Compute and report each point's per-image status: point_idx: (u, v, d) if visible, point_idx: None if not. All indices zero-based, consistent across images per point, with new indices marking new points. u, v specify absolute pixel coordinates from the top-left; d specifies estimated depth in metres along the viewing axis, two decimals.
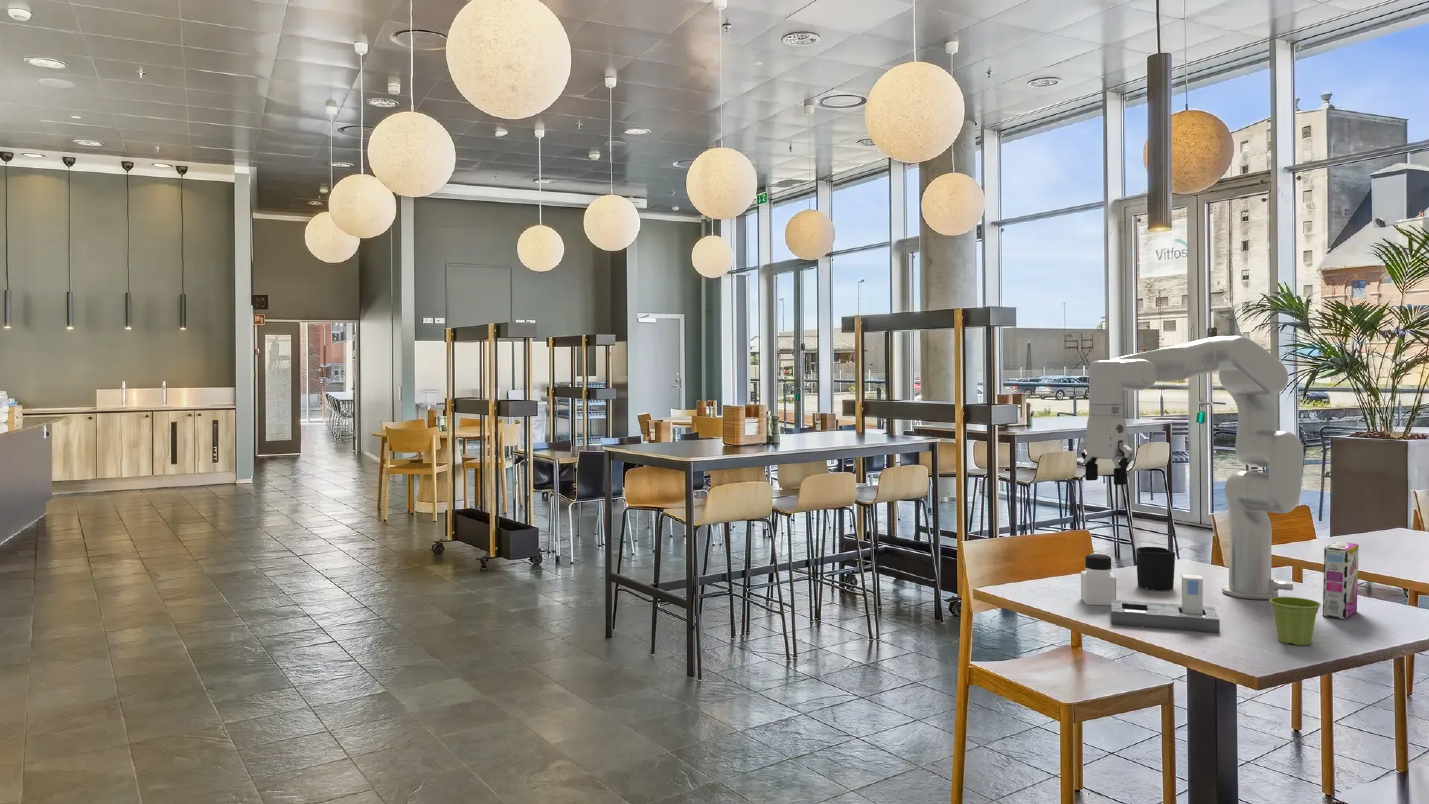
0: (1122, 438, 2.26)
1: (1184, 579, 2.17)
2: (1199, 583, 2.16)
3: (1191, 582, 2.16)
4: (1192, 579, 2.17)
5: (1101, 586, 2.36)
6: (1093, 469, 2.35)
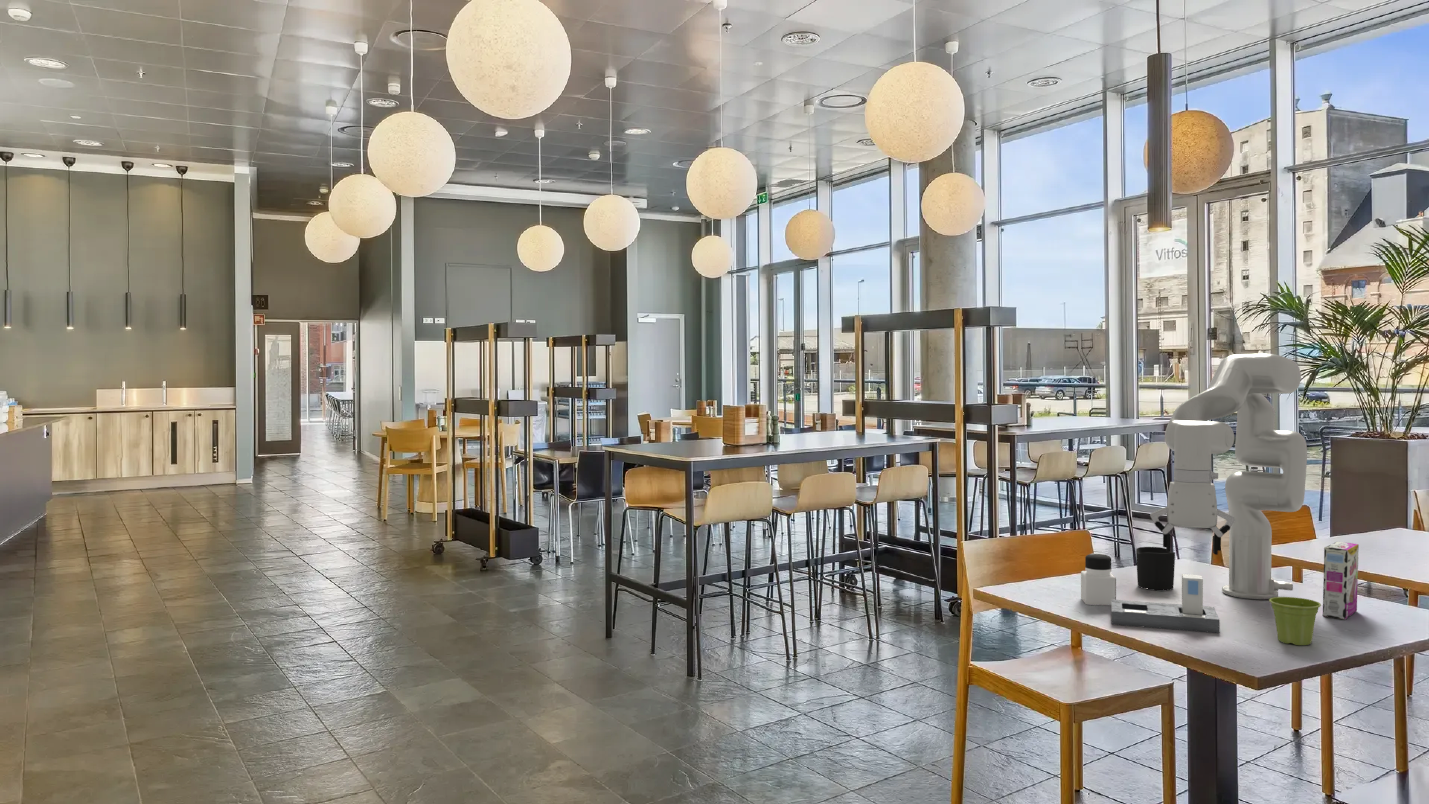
0: None
1: (1184, 579, 2.17)
2: (1199, 583, 2.16)
3: (1191, 582, 2.16)
4: (1192, 579, 2.17)
5: (1101, 586, 2.36)
6: None
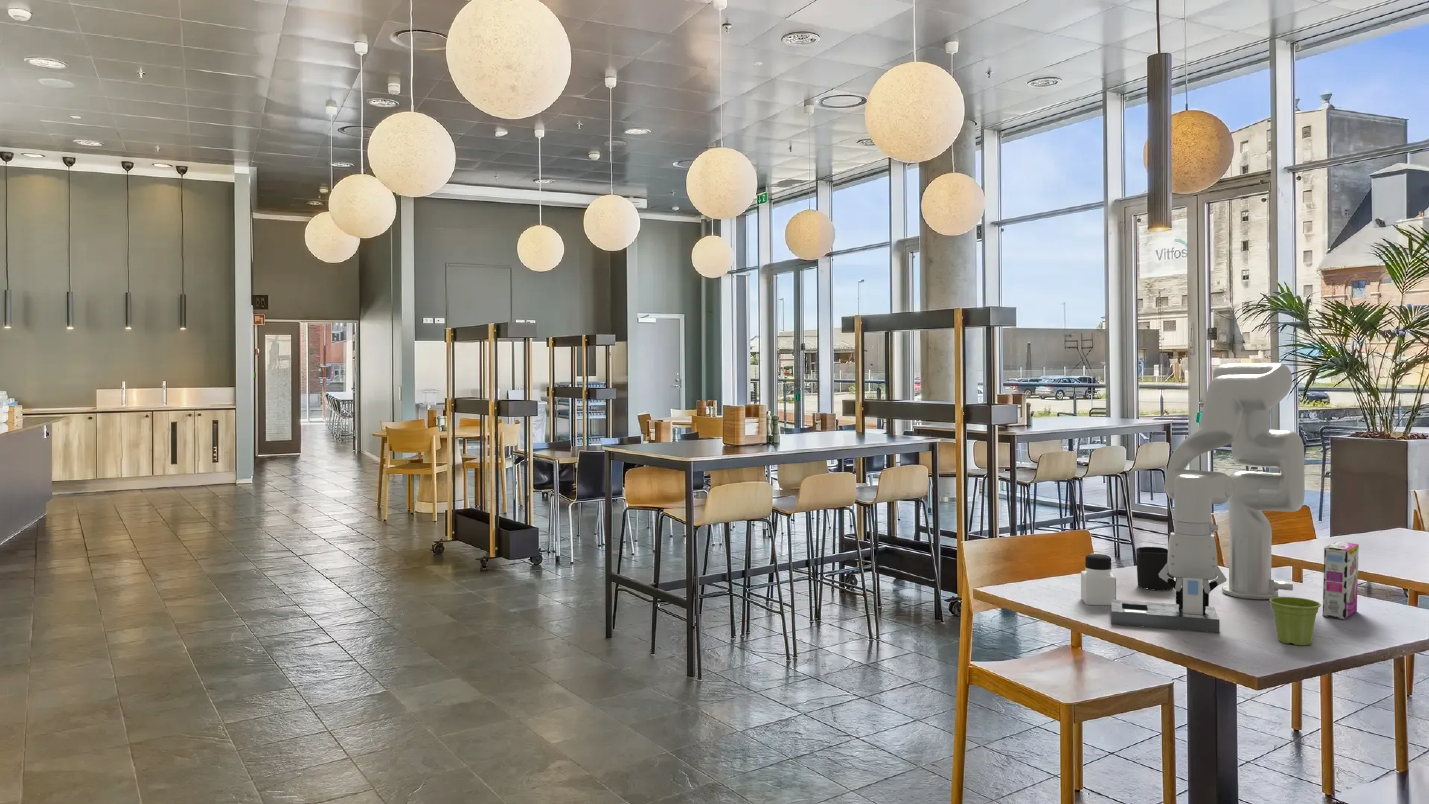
0: None
1: (1184, 579, 2.17)
2: (1199, 583, 2.16)
3: (1191, 582, 2.16)
4: (1192, 579, 2.16)
5: (1101, 586, 2.36)
6: None
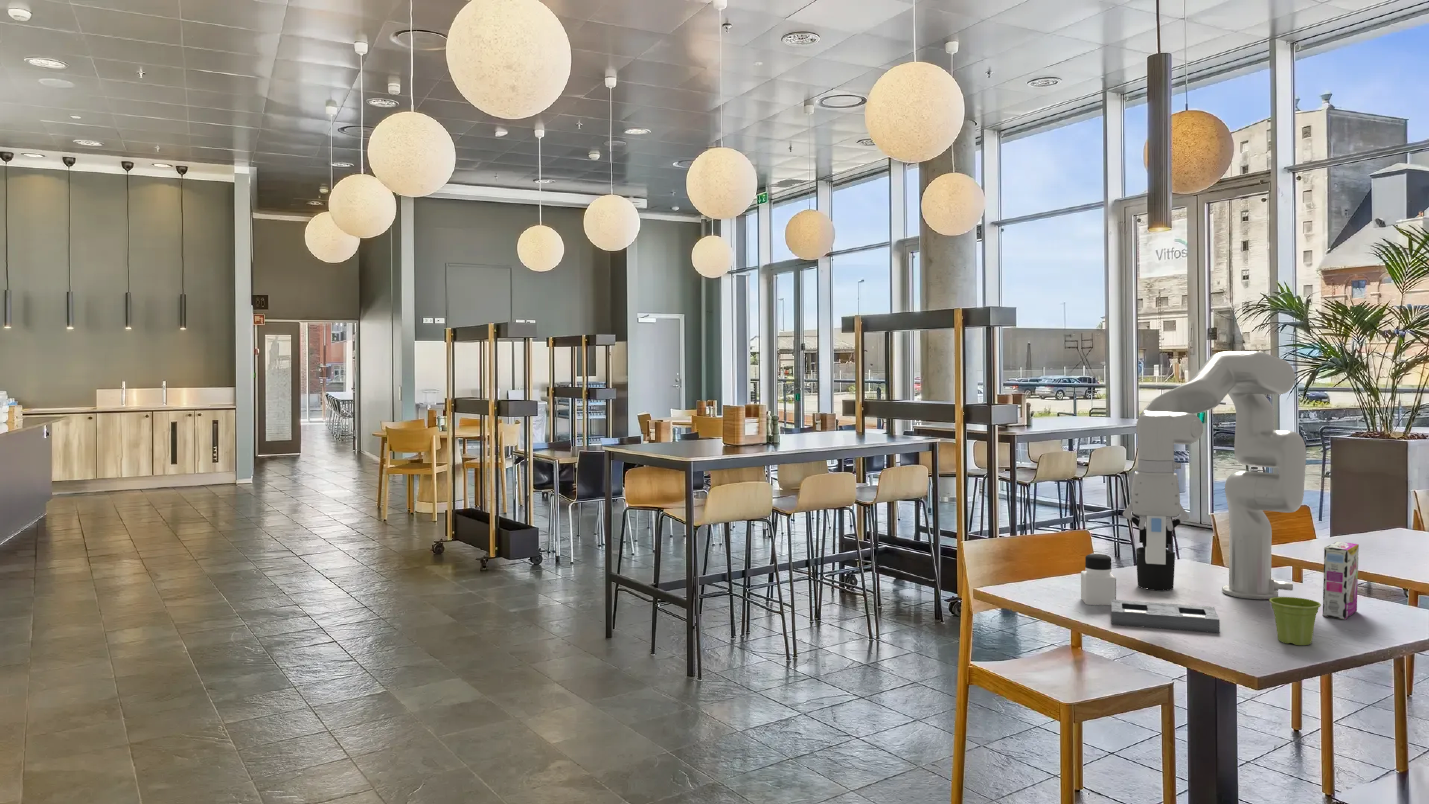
0: None
1: (1148, 517, 2.19)
2: (1162, 521, 2.18)
3: (1154, 520, 2.18)
4: (1155, 517, 2.19)
5: (1101, 586, 2.36)
6: None
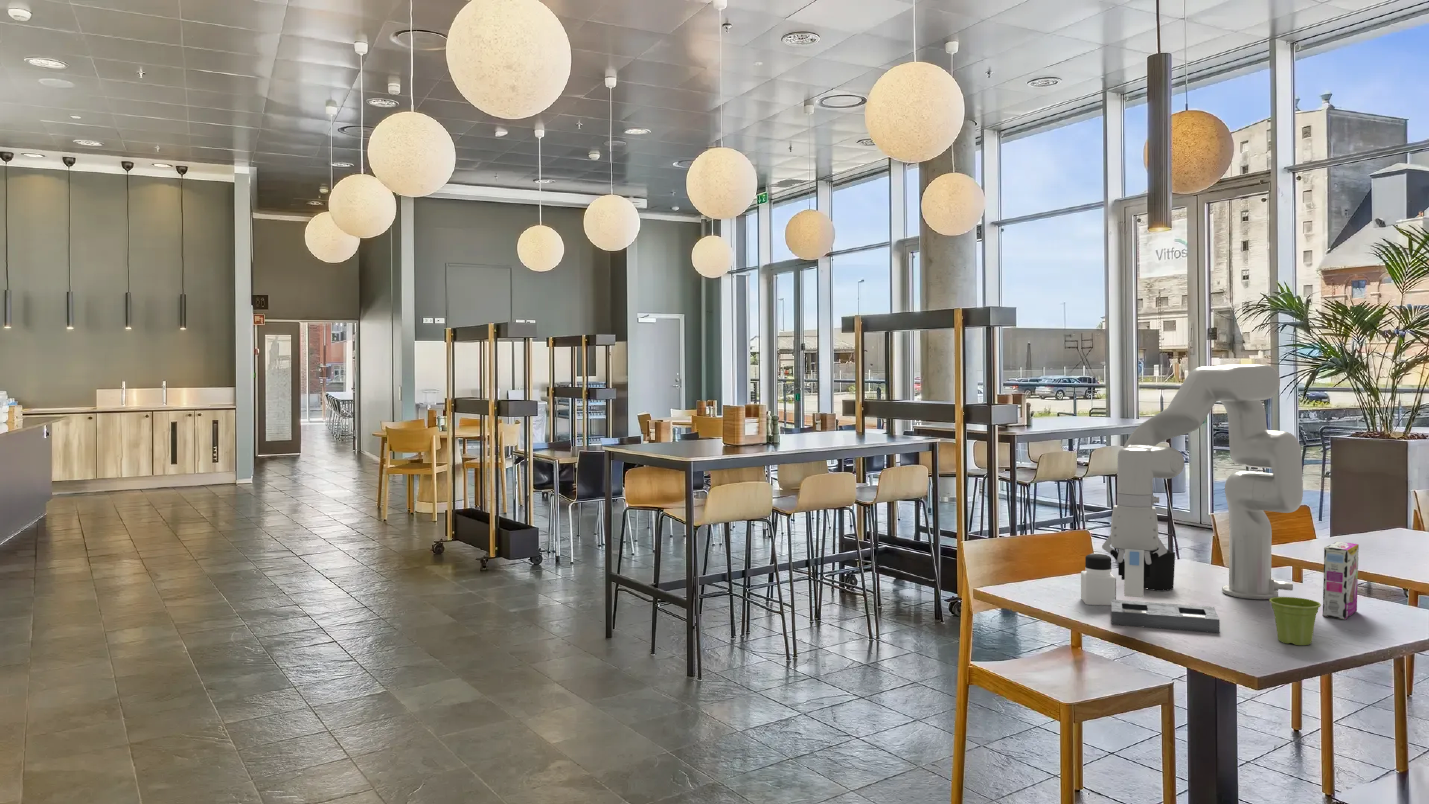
0: None
1: (1126, 550, 2.21)
2: (1140, 554, 2.20)
3: (1132, 553, 2.20)
4: (1133, 550, 2.21)
5: (1101, 586, 2.36)
6: None
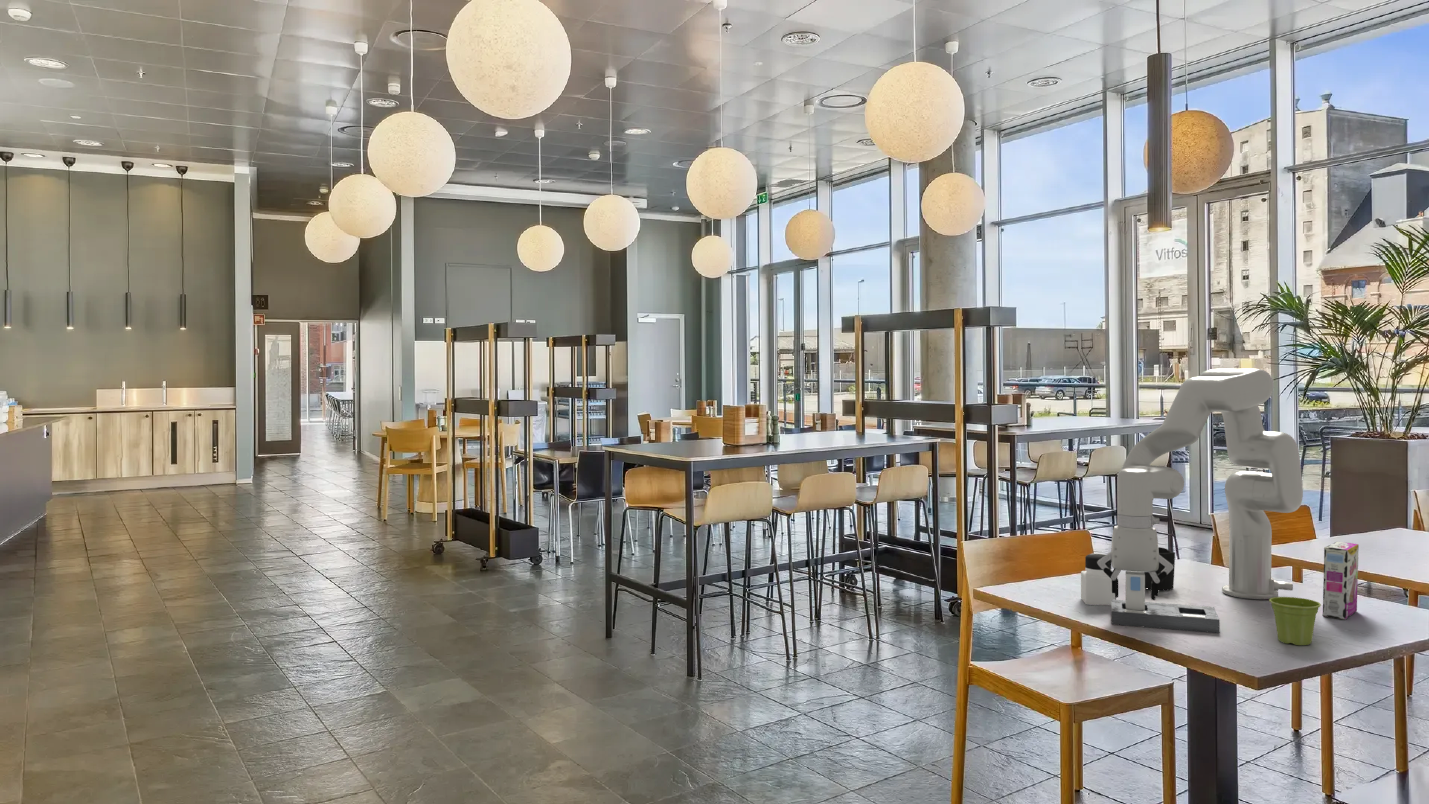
0: None
1: (1127, 575, 2.22)
2: (1141, 579, 2.21)
3: (1133, 578, 2.21)
4: (1134, 575, 2.21)
5: (1101, 586, 2.36)
6: None
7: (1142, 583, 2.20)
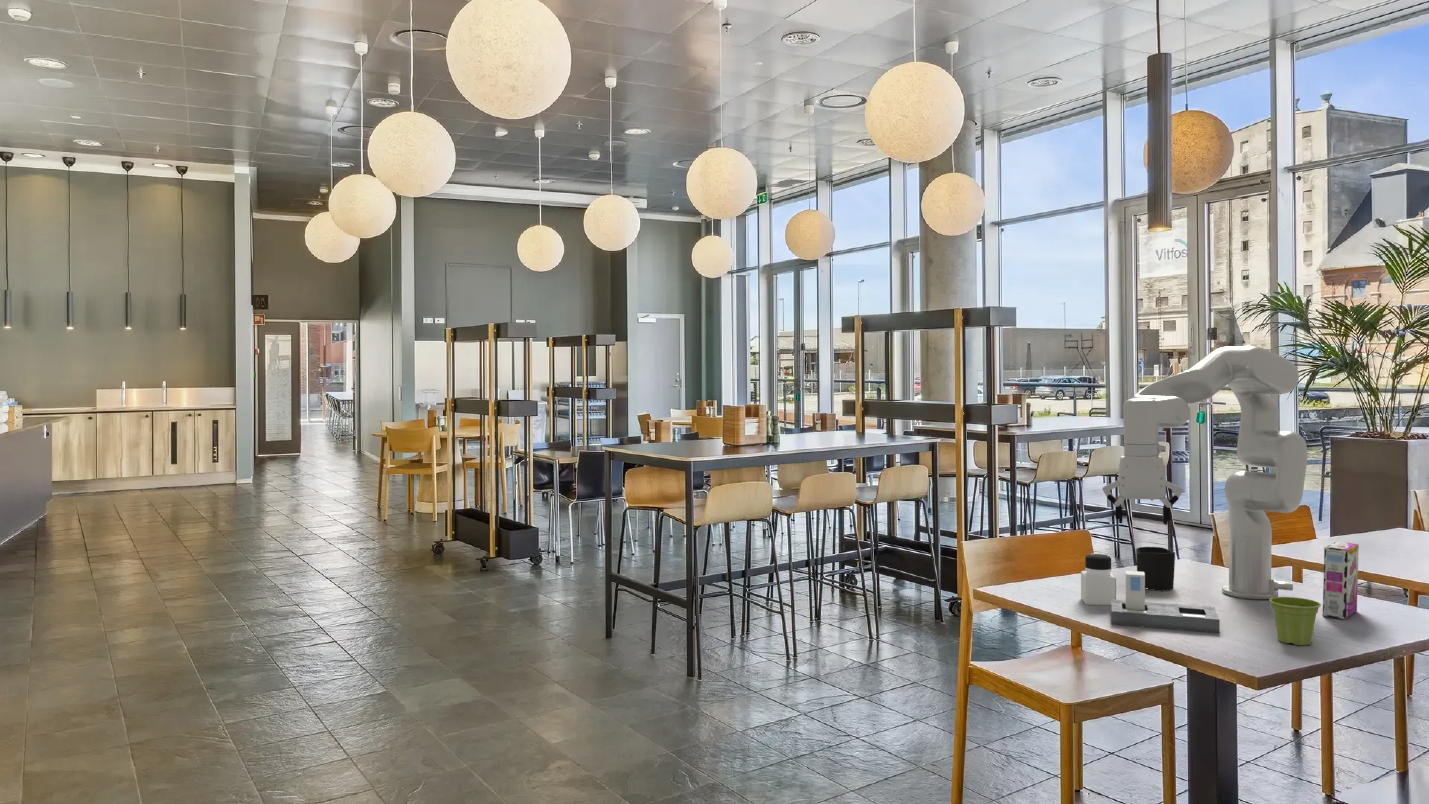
0: None
1: (1127, 575, 2.22)
2: (1141, 579, 2.21)
3: (1133, 578, 2.21)
4: (1134, 575, 2.21)
5: (1101, 586, 2.36)
6: None
7: (1142, 583, 2.20)
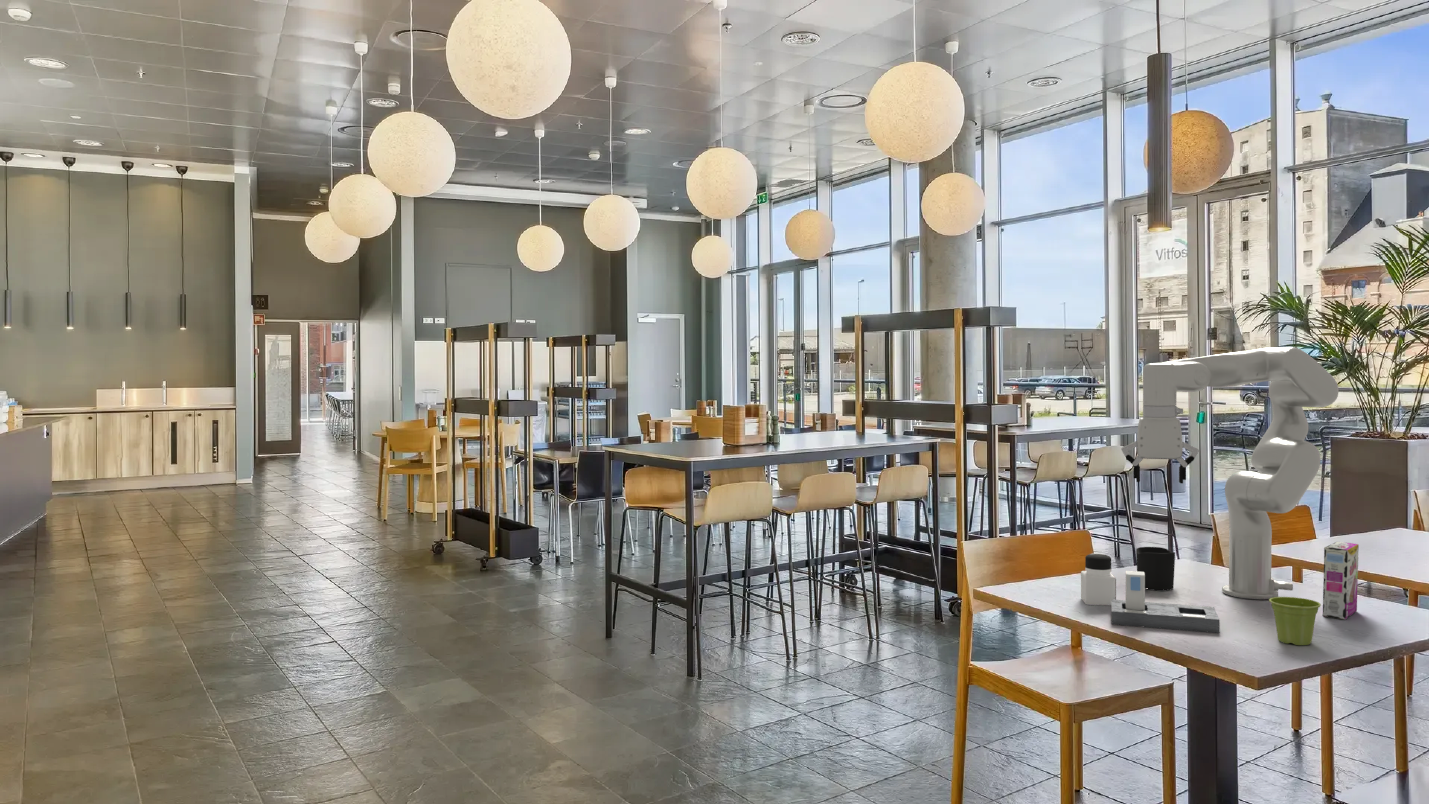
0: None
1: (1127, 575, 2.22)
2: (1141, 579, 2.21)
3: (1133, 578, 2.21)
4: (1134, 575, 2.21)
5: (1101, 586, 2.36)
6: None
7: (1142, 583, 2.20)
